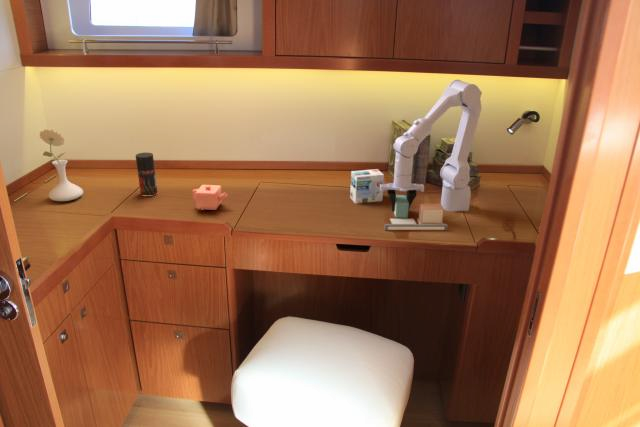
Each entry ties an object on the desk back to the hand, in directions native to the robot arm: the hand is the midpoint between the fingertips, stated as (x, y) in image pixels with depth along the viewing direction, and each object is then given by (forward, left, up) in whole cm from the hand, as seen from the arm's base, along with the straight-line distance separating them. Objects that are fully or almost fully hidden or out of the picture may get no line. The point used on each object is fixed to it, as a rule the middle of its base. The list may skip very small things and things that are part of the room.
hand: (399, 210), depth 175 cm
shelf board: (-3, +5, -2) cm, 6 cm away
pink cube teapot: (+65, -6, -2) cm, 65 cm away
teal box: (0, 0, -1) cm, 1 cm away
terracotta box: (-9, +7, -1) cm, 11 cm away
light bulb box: (+10, -13, -2) cm, 17 cm away
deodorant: (+90, -19, -2) cm, 92 cm away
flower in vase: (+119, -15, -2) cm, 120 cm away
